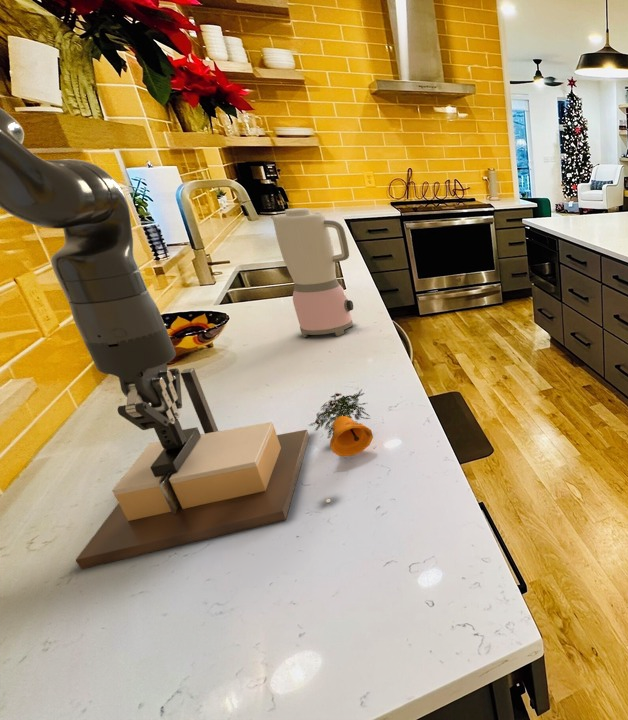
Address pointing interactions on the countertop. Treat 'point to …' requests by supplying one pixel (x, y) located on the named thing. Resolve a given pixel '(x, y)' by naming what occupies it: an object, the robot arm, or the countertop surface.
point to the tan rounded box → (227, 465)
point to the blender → (314, 270)
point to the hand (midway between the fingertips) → (175, 445)
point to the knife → (174, 466)
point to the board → (202, 520)
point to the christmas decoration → (345, 426)
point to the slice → (142, 487)
